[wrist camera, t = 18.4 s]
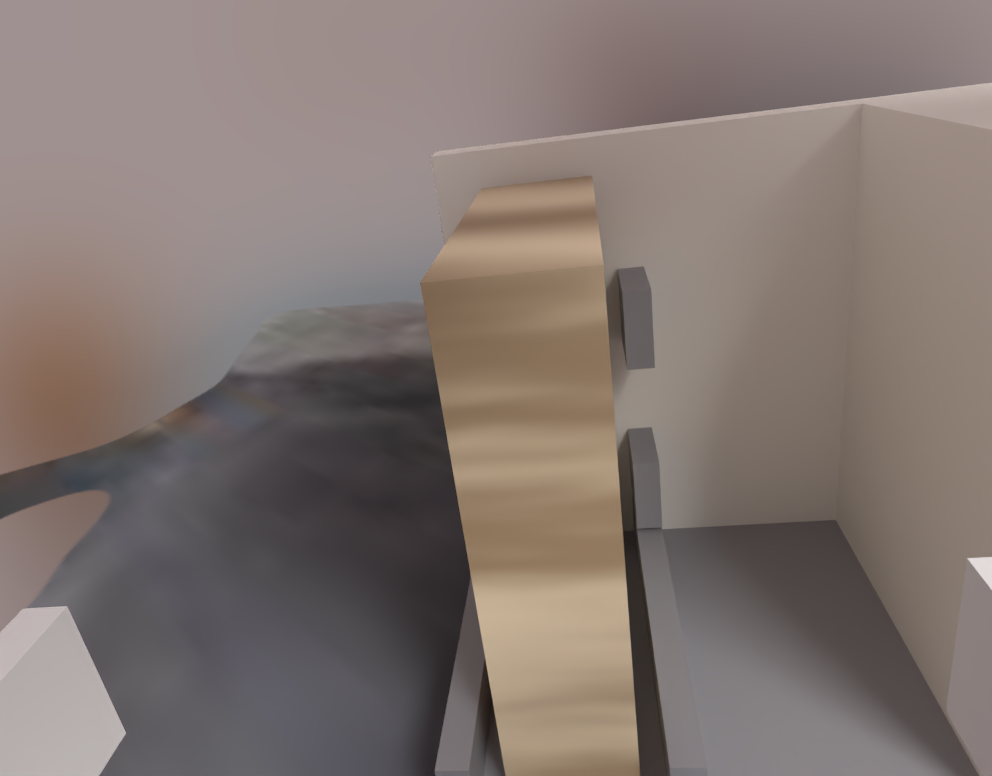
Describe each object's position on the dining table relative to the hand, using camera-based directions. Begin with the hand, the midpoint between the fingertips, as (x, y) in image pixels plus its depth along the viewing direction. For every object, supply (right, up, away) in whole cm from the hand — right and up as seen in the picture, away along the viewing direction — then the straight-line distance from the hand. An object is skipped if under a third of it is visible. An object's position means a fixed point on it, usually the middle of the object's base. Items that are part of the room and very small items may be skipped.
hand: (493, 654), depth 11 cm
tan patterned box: (+3, -6, +17) cm, 18 cm away
